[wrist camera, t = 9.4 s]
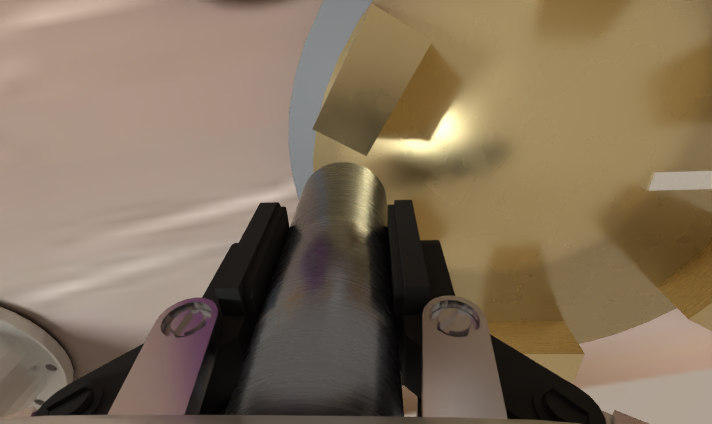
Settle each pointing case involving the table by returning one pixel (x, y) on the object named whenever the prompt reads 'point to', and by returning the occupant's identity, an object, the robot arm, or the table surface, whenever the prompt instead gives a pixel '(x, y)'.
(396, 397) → the pin
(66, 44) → the table surface
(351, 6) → the grey round plate
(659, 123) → the brass lugged disc
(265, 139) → the table surface
